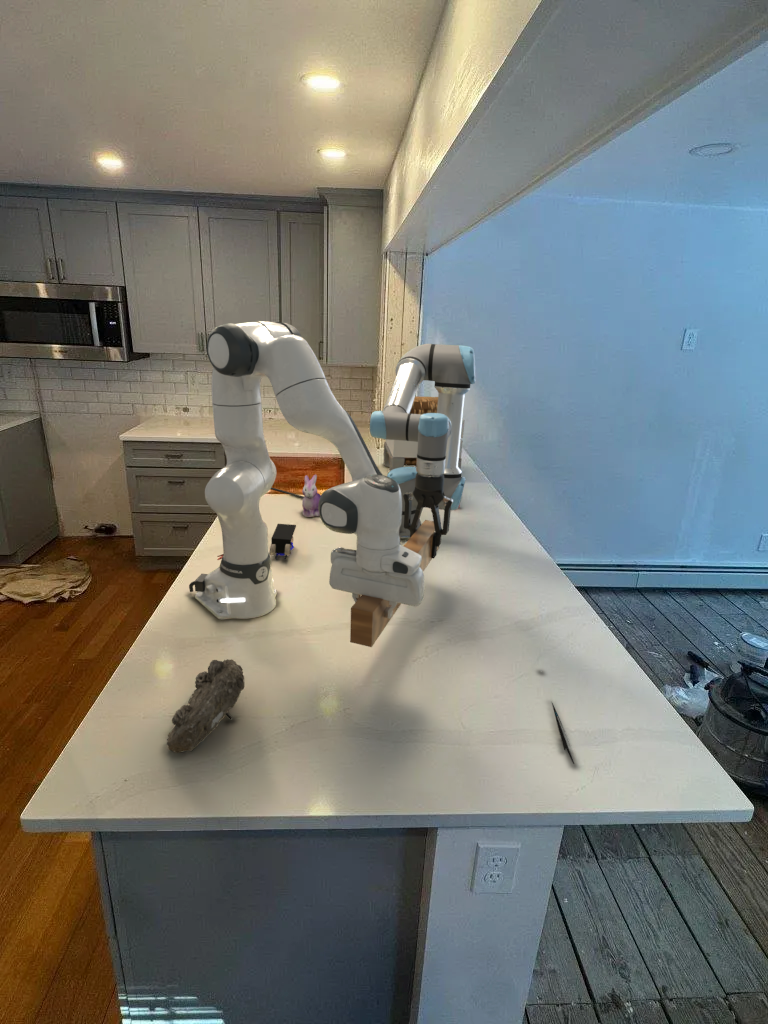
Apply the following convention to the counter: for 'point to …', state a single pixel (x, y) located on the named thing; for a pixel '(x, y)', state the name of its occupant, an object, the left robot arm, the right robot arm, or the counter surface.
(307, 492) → the figurine
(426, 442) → the right robot arm
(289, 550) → the figurine character
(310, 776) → the counter surface
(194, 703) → the fossil
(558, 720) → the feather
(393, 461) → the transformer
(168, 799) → the counter surface
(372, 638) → the post
